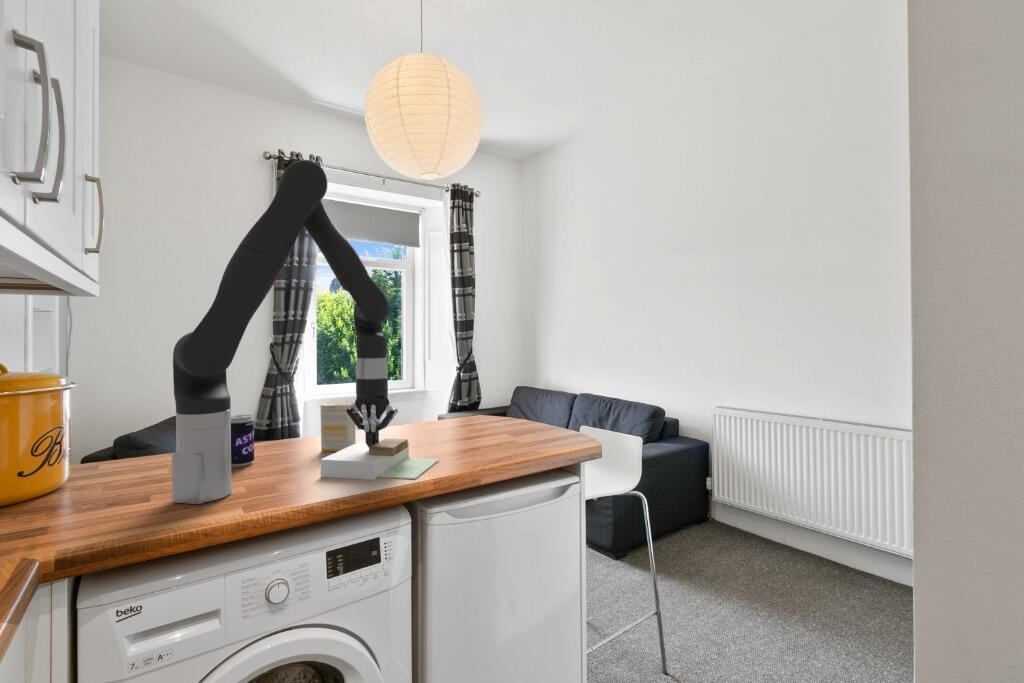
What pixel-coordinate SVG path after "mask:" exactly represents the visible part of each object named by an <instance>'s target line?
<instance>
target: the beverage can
mask: <svg viewBox="0 0 1024 683" xmlns="http://www.w3.org/2000/svg"><path fill="white" fill-rule="evenodd" d="M254 422H255V420H254V419H253V416H252V415H251V414H239V415H233V416H231V467H234V468H236V467H237V468H239V467H246V466H249V465H251V464H252V463H253V462H254V460H255V426H254V425H255V423H254Z"/></svg>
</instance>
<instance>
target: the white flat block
mask: <svg viewBox="0 0 1024 683" xmlns="http://www.w3.org/2000/svg"><path fill="white" fill-rule="evenodd" d="M409 443H410V442H408V447H407V448H406V449H404V450H402V451H401V452H399V453H398V454H396V455H394V456H376V455H369V447H368V446H367V445H366V439H362V440H360V441H358V442H356V444H353V445H351V446H349V447H347V448H345V449H342V450H340V451H338V452H337V451H335V453H334V452H333V453H331V454H329V455H327V456H325V457H322V458H321V459H320V478H331V479H332V478H334V479H349V480H354V479H355V480H367V481H369V480H370V481H374V480H376V479H377V478H379V477H378V476H379V475H380V474H382V473H383V472H385V471H386V470H388V469H390V468H391V467H393V466H394V465H396V464H397V463H399V462H400V461H402V460H403V459H405V458H410V450H409V447H410V445H409Z"/></svg>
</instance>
